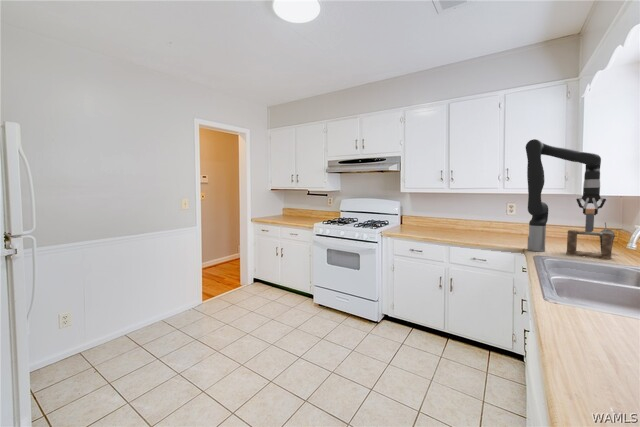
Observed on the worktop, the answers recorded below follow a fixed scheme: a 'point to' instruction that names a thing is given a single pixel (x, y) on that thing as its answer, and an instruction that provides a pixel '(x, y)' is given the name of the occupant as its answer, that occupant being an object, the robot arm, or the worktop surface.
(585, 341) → the worktop surface
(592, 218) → the peach and grey blocks
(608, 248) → the hook stand
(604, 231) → the beverage cup
